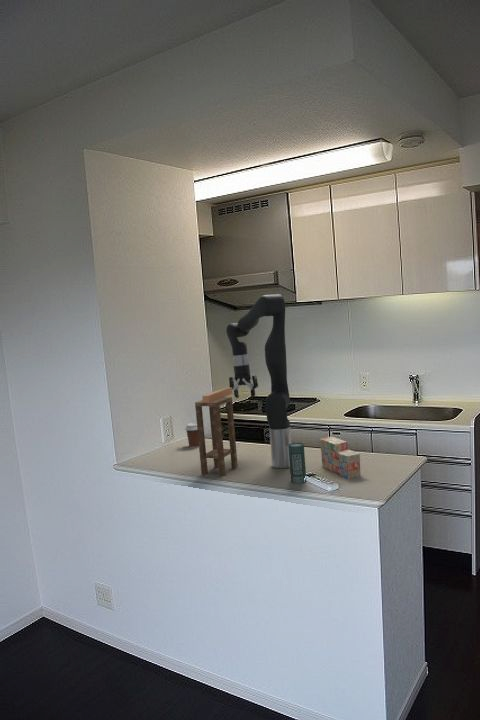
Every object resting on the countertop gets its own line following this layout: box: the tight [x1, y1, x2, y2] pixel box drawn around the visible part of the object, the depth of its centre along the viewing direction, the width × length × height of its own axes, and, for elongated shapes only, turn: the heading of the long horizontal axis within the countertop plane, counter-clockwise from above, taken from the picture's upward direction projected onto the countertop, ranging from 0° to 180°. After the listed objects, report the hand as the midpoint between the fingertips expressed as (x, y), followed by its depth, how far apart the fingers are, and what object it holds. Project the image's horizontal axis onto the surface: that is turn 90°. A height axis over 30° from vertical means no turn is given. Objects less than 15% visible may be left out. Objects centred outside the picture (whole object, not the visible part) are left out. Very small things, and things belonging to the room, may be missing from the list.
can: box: [288, 442, 307, 484], centre depth 227 cm, size 6×6×15 cm
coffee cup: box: [184, 422, 199, 449], centre depth 296 cm, size 9×9×12 cm
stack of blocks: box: [319, 436, 361, 479], centre depth 236 cm, size 21×6×12 cm, turn 21°
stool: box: [194, 396, 239, 477], centre depth 248 cm, size 11×13×32 cm
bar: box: [202, 386, 234, 403], centre depth 250 cm, size 21×3×3 cm, turn 152°
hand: (245, 397), depth 273 cm, fingers open, 8 cm apart
